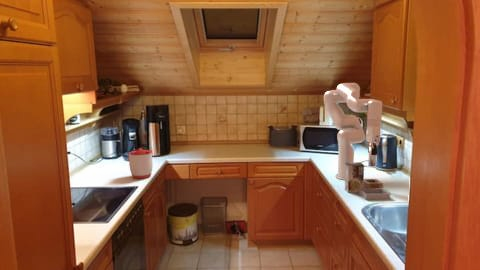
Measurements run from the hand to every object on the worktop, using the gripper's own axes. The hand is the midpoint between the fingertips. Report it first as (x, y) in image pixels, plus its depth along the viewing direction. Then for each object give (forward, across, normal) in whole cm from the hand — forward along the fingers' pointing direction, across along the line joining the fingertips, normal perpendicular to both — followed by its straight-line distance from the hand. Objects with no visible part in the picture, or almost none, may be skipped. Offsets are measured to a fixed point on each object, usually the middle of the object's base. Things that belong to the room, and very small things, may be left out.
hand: (372, 153), depth 216 cm
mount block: (+21, +1, 0) cm, 21 cm away
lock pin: (+7, 0, 0) cm, 7 cm away
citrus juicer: (+23, -41, -142) cm, 150 cm away
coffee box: (+21, +2, -11) cm, 24 cm away
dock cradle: (+21, +13, -3) cm, 25 cm away
